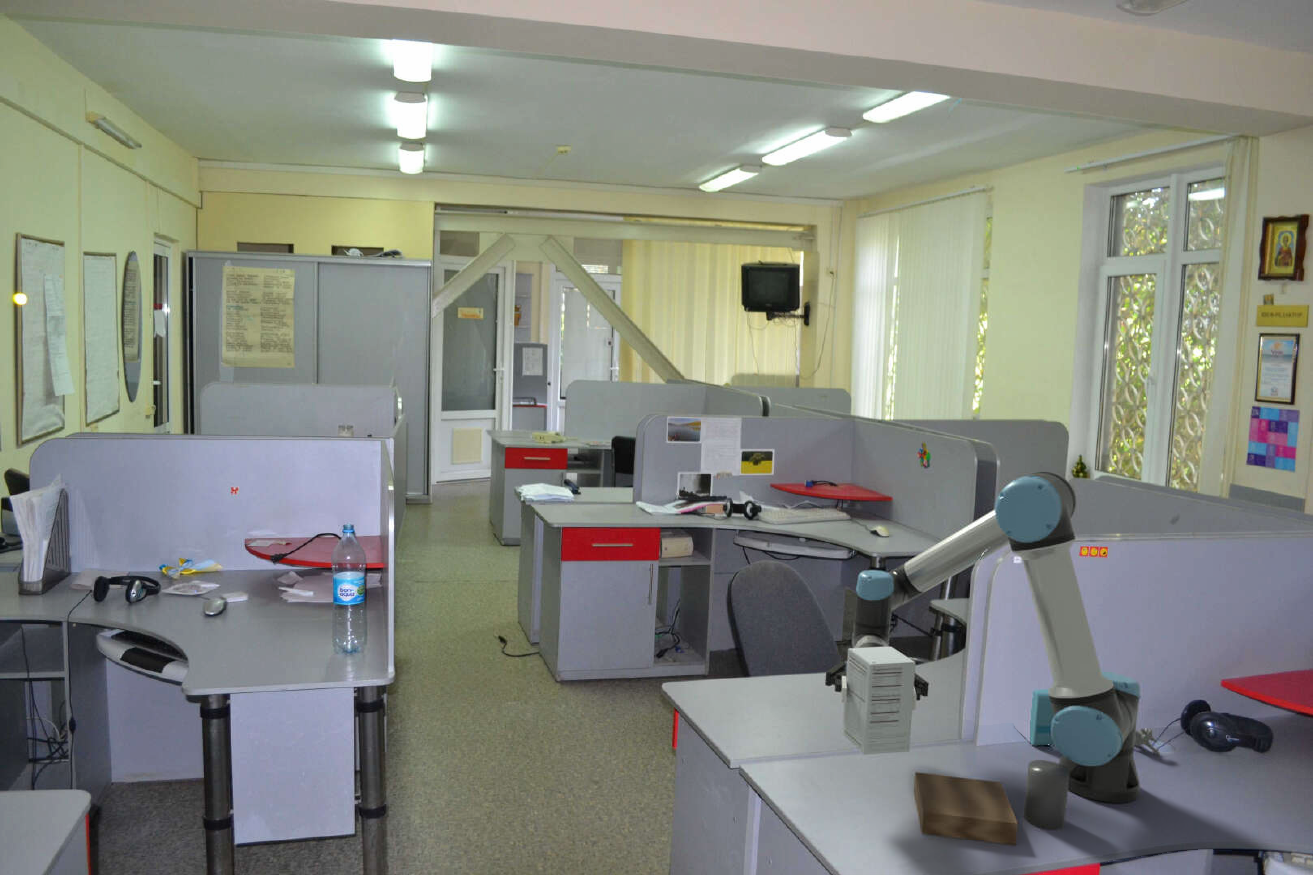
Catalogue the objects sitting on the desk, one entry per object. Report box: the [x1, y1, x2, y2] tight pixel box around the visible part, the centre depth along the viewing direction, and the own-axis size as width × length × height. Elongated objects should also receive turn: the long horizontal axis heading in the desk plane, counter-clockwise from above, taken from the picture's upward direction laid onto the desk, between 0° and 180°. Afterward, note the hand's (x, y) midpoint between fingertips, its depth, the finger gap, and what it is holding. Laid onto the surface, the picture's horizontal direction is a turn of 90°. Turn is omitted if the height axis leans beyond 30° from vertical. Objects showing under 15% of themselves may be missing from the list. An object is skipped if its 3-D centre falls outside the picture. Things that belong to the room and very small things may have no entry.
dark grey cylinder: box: [1023, 759, 1069, 831], centre depth 180 cm, size 7×7×10 cm
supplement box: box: [842, 646, 916, 755], centre depth 179 cm, size 10×9×17 cm
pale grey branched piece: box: [1134, 725, 1162, 756], centre depth 215 cm, size 10×6×9 cm
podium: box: [913, 771, 1019, 846], centre depth 180 cm, size 16×16×4 cm
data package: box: [1030, 689, 1055, 746], centre depth 218 cm, size 12×4×12 cm, turn 2°
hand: (878, 698), depth 177 cm, fingers closed on supplement box, 12 cm apart
